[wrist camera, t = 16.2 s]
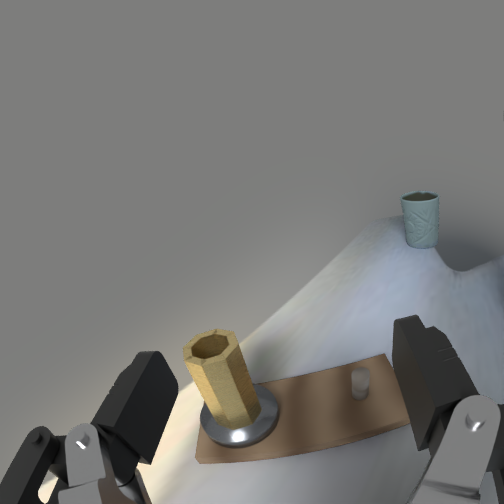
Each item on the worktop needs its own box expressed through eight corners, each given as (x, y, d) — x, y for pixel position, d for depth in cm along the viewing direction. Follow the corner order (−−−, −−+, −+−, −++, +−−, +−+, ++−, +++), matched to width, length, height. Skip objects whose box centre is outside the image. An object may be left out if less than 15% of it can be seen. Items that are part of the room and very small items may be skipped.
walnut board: (384, 361, 34) (385, 333, 32) (414, 421, 24) (421, 394, 22) (209, 397, 36) (196, 372, 34) (199, 463, 26) (182, 441, 24)
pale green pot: (438, 234, 65) (436, 190, 61) (443, 249, 57) (441, 199, 53) (403, 236, 70) (399, 192, 66) (403, 251, 62) (400, 201, 58)
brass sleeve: (253, 389, 32) (230, 323, 29) (266, 419, 27) (242, 353, 24) (212, 402, 31) (182, 339, 28) (219, 434, 26) (185, 370, 23)
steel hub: (266, 382, 35) (255, 348, 33) (290, 432, 26) (281, 399, 24) (200, 403, 33) (183, 371, 31) (210, 457, 25) (189, 428, 23)
